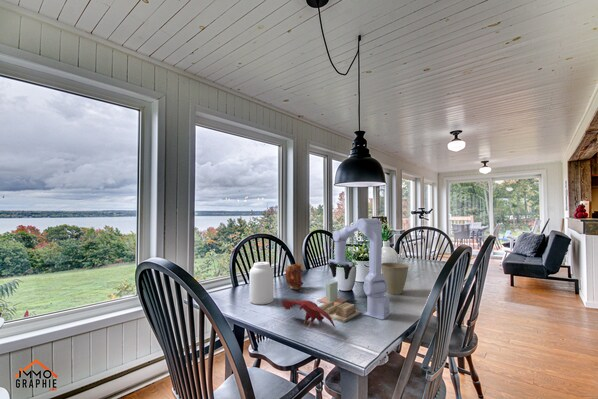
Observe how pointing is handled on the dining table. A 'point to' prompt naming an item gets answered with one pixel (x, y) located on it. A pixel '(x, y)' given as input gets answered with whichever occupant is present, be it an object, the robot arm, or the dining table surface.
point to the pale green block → (331, 291)
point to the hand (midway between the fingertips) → (340, 277)
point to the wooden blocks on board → (332, 309)
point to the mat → (339, 300)
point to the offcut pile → (345, 310)
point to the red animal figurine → (308, 310)
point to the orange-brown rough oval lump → (294, 276)
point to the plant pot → (395, 276)
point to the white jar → (261, 283)
